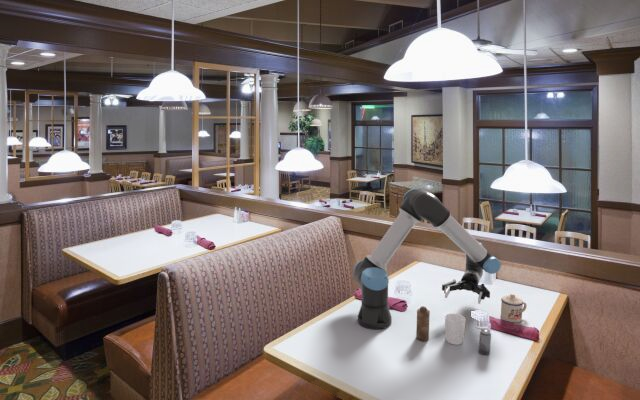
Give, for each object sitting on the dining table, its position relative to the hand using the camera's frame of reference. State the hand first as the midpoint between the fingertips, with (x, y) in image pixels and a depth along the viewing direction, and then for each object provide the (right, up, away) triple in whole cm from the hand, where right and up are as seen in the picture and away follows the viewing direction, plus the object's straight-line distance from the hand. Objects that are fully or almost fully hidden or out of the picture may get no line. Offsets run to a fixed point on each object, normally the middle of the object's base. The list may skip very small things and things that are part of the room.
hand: (462, 297), depth 177 cm
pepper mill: (-18, -16, -5) cm, 24 cm away
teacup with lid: (+27, -12, +11) cm, 32 cm away
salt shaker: (+3, -17, -16) cm, 24 cm away
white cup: (-6, -16, -7) cm, 18 cm away
